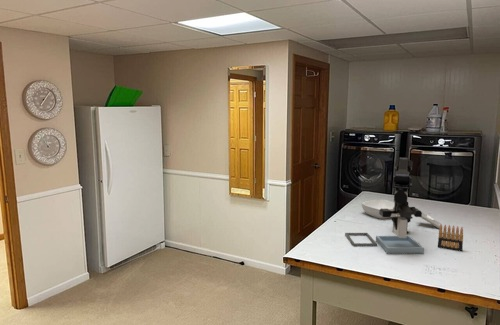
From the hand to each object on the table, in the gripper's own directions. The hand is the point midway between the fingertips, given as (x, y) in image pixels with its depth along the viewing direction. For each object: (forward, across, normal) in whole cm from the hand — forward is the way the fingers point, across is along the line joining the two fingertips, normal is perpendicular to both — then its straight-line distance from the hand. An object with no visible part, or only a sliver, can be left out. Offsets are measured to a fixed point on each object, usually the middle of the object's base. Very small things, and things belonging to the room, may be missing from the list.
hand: (399, 229), depth 183 cm
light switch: (+9, +30, +34) cm, 46 cm away
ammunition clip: (+9, +24, -2) cm, 26 cm away
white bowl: (+10, +10, +56) cm, 58 cm away
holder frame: (+9, -16, +10) cm, 21 cm away
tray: (+9, 0, 0) cm, 9 cm away
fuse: (+2, 0, 0) cm, 3 cm away
